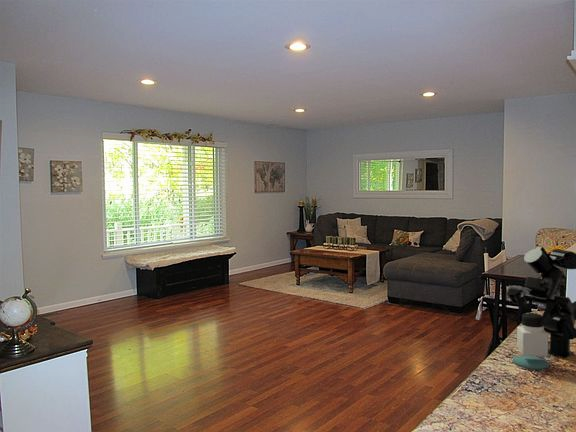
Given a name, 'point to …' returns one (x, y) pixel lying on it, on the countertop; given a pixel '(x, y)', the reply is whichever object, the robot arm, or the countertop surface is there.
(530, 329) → the medicine bottle
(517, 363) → the coaster
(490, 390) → the countertop surface
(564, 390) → the countertop surface
